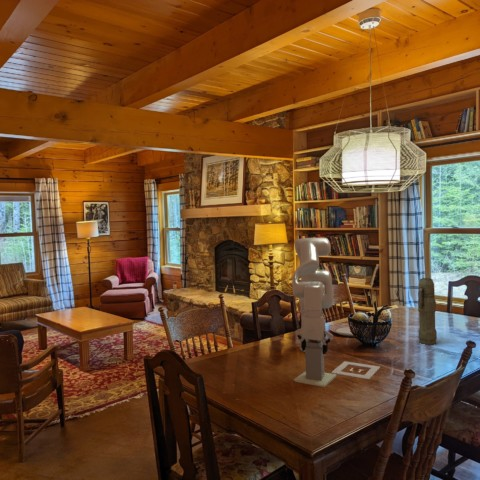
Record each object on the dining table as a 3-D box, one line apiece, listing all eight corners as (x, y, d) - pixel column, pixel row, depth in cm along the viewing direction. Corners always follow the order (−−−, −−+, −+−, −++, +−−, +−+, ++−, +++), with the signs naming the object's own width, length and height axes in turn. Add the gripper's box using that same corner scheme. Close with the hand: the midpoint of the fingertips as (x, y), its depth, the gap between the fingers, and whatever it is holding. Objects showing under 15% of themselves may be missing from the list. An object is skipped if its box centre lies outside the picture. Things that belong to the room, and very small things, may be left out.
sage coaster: (293, 381, 188) (293, 379, 188) (307, 371, 199) (307, 369, 199) (324, 387, 180) (324, 385, 180) (336, 376, 192) (336, 374, 192)
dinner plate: (327, 327, 277) (327, 322, 277) (371, 326, 275) (371, 321, 274) (332, 339, 250) (331, 333, 250) (381, 338, 247) (380, 333, 247)
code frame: (331, 373, 196) (331, 372, 196) (344, 362, 210) (344, 361, 210) (368, 379, 186) (368, 378, 186) (380, 367, 200) (380, 366, 200)
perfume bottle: (321, 380, 185) (320, 338, 185) (306, 379, 188) (304, 337, 187) (324, 374, 192) (323, 334, 191) (309, 373, 194) (307, 333, 193)
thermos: (441, 342, 236) (439, 277, 234) (430, 346, 228) (429, 280, 226) (425, 339, 242) (423, 276, 241) (414, 343, 235) (412, 279, 233)
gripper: (291, 313, 190) (292, 351, 191) (328, 317, 181) (330, 357, 182) (298, 309, 196) (300, 346, 198) (335, 313, 187) (336, 351, 188)
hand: (314, 351), depth 190 cm, fingers open, 9 cm apart
